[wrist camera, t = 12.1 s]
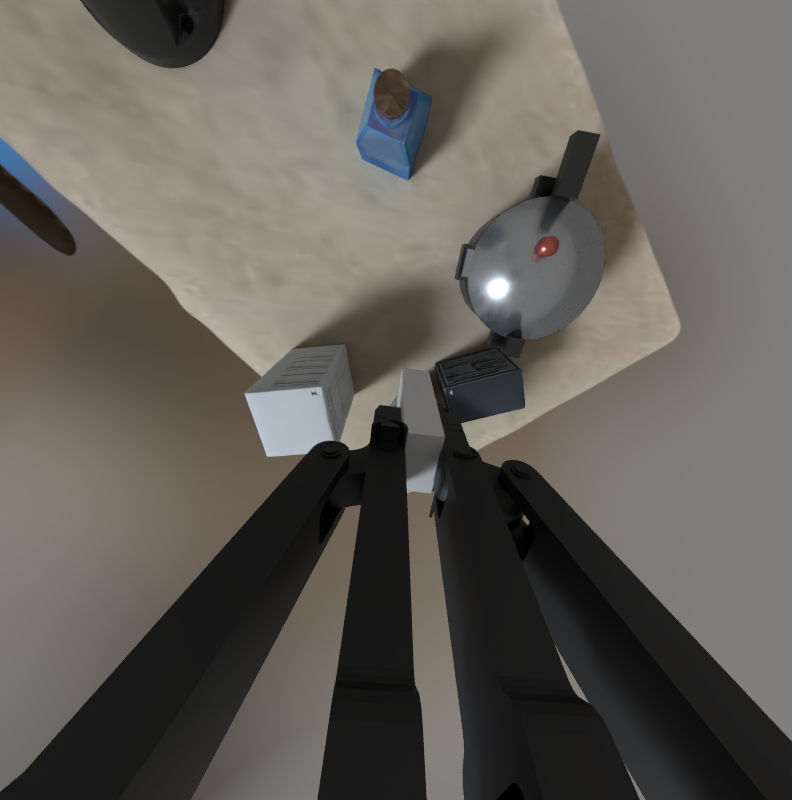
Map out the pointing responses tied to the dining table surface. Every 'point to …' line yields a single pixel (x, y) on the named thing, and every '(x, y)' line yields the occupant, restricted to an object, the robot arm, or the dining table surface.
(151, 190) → the dining table surface
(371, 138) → the perfume bottle
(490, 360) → the small box
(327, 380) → the supplement box
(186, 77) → the dining table surface
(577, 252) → the lid
